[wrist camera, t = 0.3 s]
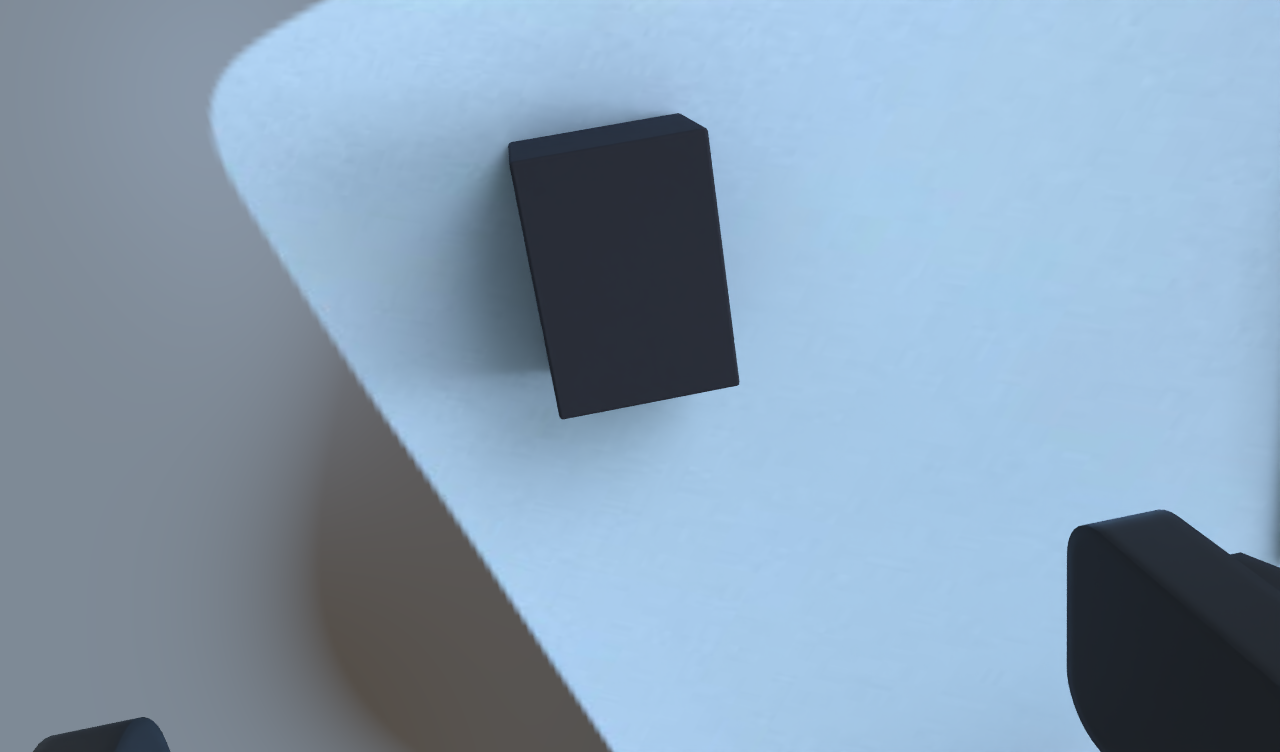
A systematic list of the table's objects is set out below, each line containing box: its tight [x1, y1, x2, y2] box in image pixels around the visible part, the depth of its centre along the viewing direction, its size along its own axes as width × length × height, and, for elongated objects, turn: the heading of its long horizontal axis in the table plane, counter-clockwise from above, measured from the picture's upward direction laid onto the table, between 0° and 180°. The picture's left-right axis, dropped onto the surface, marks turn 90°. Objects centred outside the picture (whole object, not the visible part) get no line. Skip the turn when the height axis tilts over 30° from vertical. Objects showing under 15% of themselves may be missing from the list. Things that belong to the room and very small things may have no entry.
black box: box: [508, 113, 739, 419], centre depth 28 cm, size 7×5×4 cm
